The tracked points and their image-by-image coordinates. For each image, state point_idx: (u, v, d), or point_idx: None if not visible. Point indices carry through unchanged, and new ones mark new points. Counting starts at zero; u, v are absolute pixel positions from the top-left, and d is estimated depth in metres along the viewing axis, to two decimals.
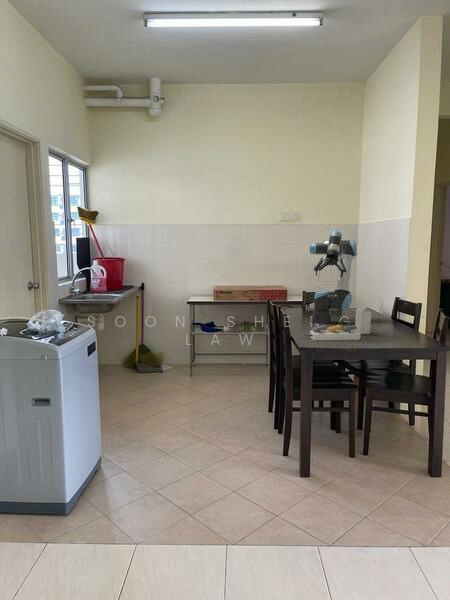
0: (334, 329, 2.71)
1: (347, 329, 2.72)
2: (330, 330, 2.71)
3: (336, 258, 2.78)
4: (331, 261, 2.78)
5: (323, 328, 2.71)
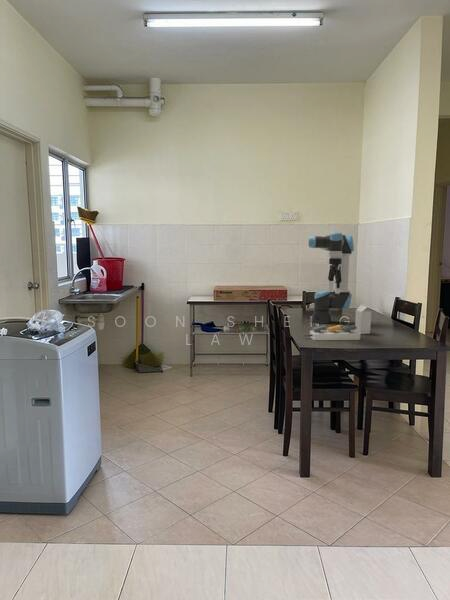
0: (334, 329, 2.71)
1: (347, 329, 2.72)
2: (330, 330, 2.71)
3: (335, 266, 2.68)
4: (333, 270, 2.71)
5: (323, 328, 2.71)
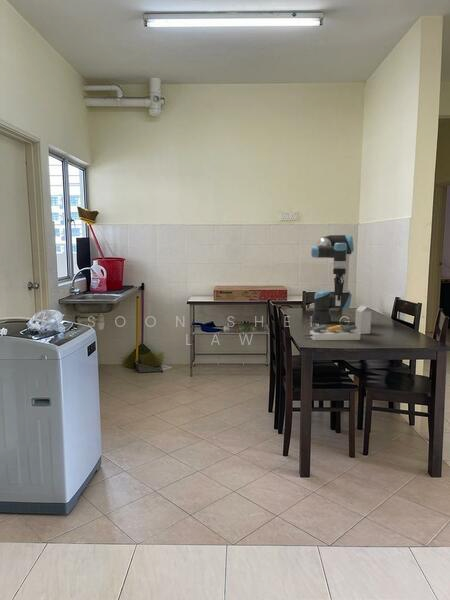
0: (334, 329, 2.71)
1: (347, 329, 2.72)
2: (330, 330, 2.71)
3: (339, 277, 2.66)
4: None
5: (323, 328, 2.71)
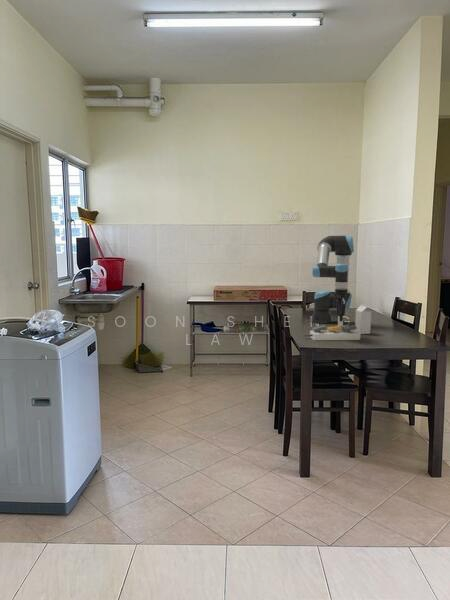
0: (334, 329, 2.71)
1: (347, 329, 2.72)
2: (330, 330, 2.71)
3: (341, 298, 2.67)
4: None
5: (323, 328, 2.71)
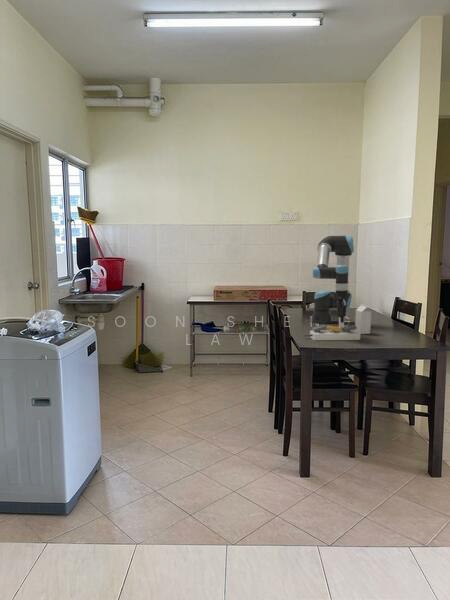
0: (334, 329, 2.71)
1: (347, 329, 2.72)
2: (330, 328, 2.71)
3: (341, 299, 2.67)
4: None
5: (323, 328, 2.71)
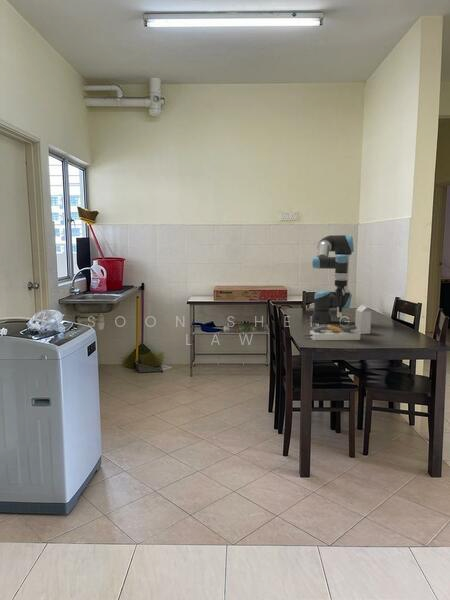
0: (334, 328, 2.71)
1: (347, 329, 2.72)
2: (330, 327, 2.71)
3: (340, 289, 2.67)
4: None
5: (323, 328, 2.71)
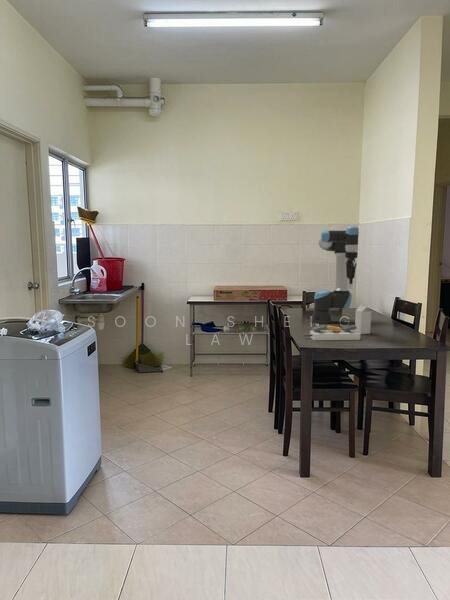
0: (334, 329, 2.71)
1: (347, 329, 2.72)
2: (330, 328, 2.71)
3: (351, 260, 2.72)
4: None
5: (323, 328, 2.71)
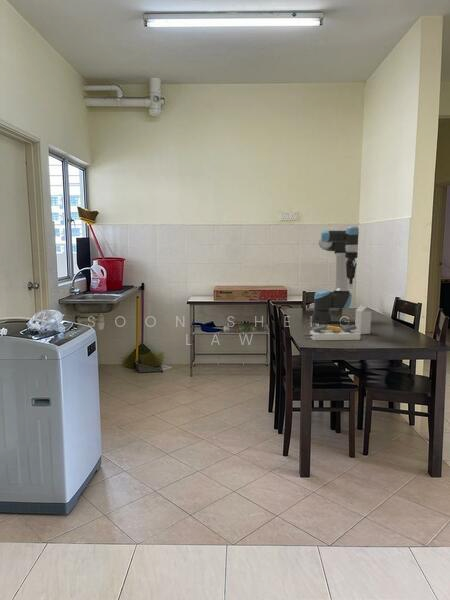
0: (334, 329, 2.71)
1: (347, 329, 2.72)
2: (330, 328, 2.71)
3: (351, 260, 2.72)
4: None
5: (323, 328, 2.71)
